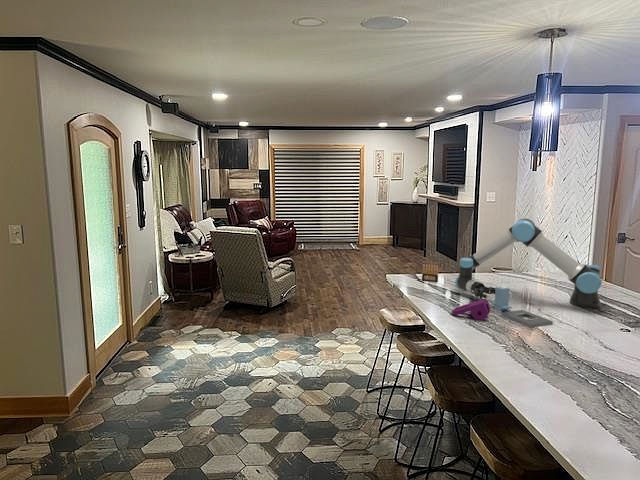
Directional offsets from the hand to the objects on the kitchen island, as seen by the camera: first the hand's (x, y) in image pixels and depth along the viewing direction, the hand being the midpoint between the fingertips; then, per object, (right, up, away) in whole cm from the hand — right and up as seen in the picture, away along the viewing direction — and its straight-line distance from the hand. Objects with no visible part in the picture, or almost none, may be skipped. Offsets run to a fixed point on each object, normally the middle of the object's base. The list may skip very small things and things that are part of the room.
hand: (501, 297), depth 258 cm
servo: (0, -7, +1) cm, 7 cm away
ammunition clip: (-24, +3, +63) cm, 68 cm away
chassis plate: (+6, -10, -17) cm, 20 cm away
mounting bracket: (-21, -9, -12) cm, 26 cm away
